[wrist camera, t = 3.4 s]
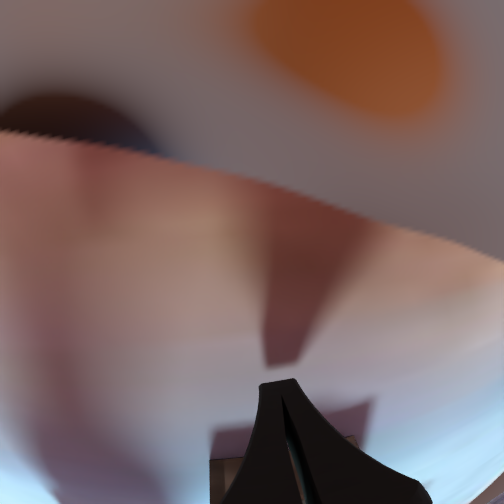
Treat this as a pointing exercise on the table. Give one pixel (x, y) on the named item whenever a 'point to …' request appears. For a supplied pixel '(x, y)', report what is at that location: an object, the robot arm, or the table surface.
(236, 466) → the walnut tray
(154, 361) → the table surface
